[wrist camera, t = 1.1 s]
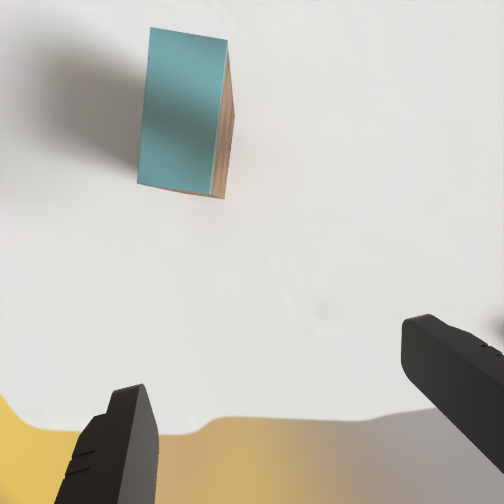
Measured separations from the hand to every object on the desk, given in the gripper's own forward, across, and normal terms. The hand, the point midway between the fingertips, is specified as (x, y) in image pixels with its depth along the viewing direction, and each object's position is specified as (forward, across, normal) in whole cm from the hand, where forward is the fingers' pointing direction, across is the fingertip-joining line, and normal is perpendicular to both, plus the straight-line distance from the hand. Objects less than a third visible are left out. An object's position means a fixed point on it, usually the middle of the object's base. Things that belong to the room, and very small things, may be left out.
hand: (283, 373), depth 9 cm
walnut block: (+25, -1, -6) cm, 25 cm away
